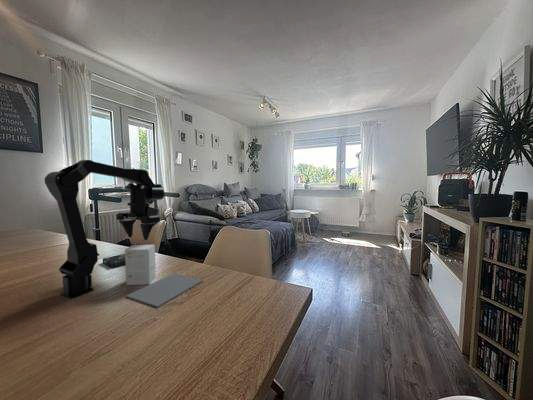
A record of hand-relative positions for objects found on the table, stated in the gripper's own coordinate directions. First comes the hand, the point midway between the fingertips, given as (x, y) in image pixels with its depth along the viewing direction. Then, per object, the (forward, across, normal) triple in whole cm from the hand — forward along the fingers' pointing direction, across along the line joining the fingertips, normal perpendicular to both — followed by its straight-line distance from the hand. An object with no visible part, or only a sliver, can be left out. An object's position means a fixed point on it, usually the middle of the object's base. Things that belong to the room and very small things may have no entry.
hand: (137, 238), depth 95 cm
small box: (+14, -10, +6) cm, 18 cm away
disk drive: (+14, +15, -5) cm, 21 cm away
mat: (+13, -23, +6) cm, 28 cm away
